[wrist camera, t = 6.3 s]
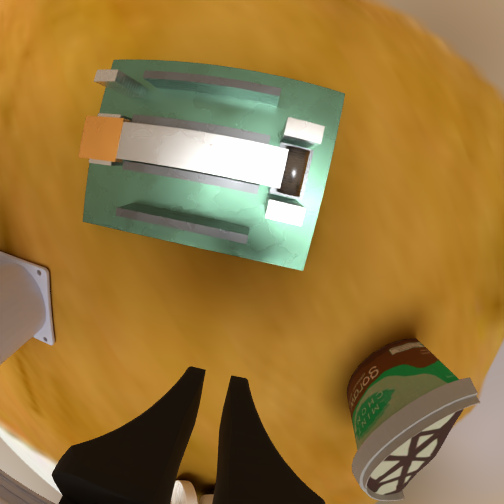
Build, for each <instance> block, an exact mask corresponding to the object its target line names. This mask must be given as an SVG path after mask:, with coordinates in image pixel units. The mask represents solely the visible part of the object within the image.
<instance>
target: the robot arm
mask: <svg viewBox="0 0 504 504" xmlns="http://www.w3.org/2000/svg"><path fill="white" fill-rule="evenodd" d="M40 272H41V273H40ZM32 337H34V338H36V339H38V340H40V341H43V342H45V343H47V344H49V345H53V344H54V343H55V339H54V331H53V322H52V312H51V299H50V281H49V271H48V270H47V268H45V267H42V266H39V265H36V264H34V263H31V262H28V261H25V260H23V259H20V258H17V257H14V256H12V255H9V254H7V253H4V252H1V251H0V365H1V364H2V363H3V362H4V361H5V360H6V359H7V358H9V357H10V356H11V355H12V354H13V353H14V352H15V351H17V350H18V349H19V348H20V347H21V346H22V345H23V344H25V343H26V342H27V341H28V340H29V339H30V338H32ZM205 371H206V370H204V369H200V368H196V367H189V368H188V369H187V370H186V372H185V373H184V374H183V376H182V377H181V378H180V379H179V381H178V382H177V383H176V384H175V385H174V386H173V387H172V388H171V389H170V390H169V391H168V392H167V393H166V394H165V395H164V396H163V397H162V398H161V399H160V400H159V401H157V402H156V403H155V404H154V405H153V406H152V407H150V408H149V409H148V410H147V411H145V412H144V413H142V414H141V415H140V416H138V417H137V418H135V419H134V420H132V421H130V422H129V423H127V424H125V425H123V426H122V427H120V428H118V429H116V430H114V431H112V432H109V433H107V434H105V435H103V436H100V437H98V438H95V439H92V440H89V441H86V442H83V443H80V444H76V445H73V446H71V447H70V448H69V449H68V450H67V451H66V453H65V454H64V455H63V456H62V457H61V459H60V460H59V462H58V464H57V465H56V467H55V469H54V471H53V473H52V477H53V479H54V482H55V483H56V485H57V487H58V488H59V490H60V492H61V493H62V495H63V496H62V498H61V500H60V502H59V504H170V502H171V498H172V493H173V489H174V485H175V481H176V477H177V472H178V469H179V466H180V463H181V460H182V457H183V455H184V452H185V449H186V447H187V444H188V441H189V438H190V436H191V433H192V430H193V427H194V425H195V421H196V417H197V413H198V409H199V404H200V399H201V393H202V387H203V382H204V376H205ZM0 504H55V503H53V502H51V501H49V500H47V499H46V498H44V497H42V496H40V495H39V494H37V493H35V492H34V491H32V490H30V489H28V488H27V487H25V486H24V485H22V484H21V483H19V482H18V481H16V480H15V479H13V478H12V477H10V476H9V475H7V474H6V473H5V472H3V471H2V470H1V469H0ZM212 504H325V502H324V500H323V499H322V498H321V497H319V496H318V495H317V494H316V493H315V492H313V491H312V490H311V489H310V488H309V487H308V486H307V485H306V484H305V483H304V482H303V481H302V480H301V479H300V478H299V477H298V476H297V475H296V474H295V473H294V472H293V470H292V469H291V468H290V467H289V466H288V465H287V463H286V462H285V461H284V460H283V458H282V457H281V455H280V454H279V453H278V451H277V450H276V448H275V446H274V445H273V443H272V442H271V440H270V438H269V436H268V434H267V433H266V431H265V429H264V427H263V425H262V422H261V420H260V418H259V415H258V413H257V410H256V408H255V405H254V402H253V399H252V396H251V392H250V388H249V383H248V380H247V379H246V378H241V377H236V376H231V379H230V383H229V387H228V391H227V395H226V399H225V403H224V407H223V412H222V418H221V423H220V429H219V445H218V464H217V477H216V484H215V490H214V496H213V502H212Z"/></svg>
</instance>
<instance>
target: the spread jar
mask: <svg viewBox="0 0 504 504" xmlns="http://www.w3.org/2000/svg"><path fill="white" fill-rule="evenodd" d="M214 490H215V489H214ZM214 490H210V491H207V492H204V493H203V494H202V495H201V497H200V500H199V504H212V502H213V496H214ZM171 500H172V501H171V502H172V504H198V502H197V496H196V492H195V489H194V486H193V485H192V483H191V482H190V481H185V480H176V481H175V485H174V489H173V493H172V498H171Z"/></svg>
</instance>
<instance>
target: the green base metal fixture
mask: <svg viewBox="0 0 504 504" xmlns="http://www.w3.org/2000/svg"><path fill="white" fill-rule="evenodd" d="M94 82H96V83H99V84H101V85H103V86H105V87H106V89H105V93H104V96H103V100H102V104H101V108H100V113H98V116H100V117H115V118H125V119H128V120H130V123H140V124H149V125H158V126H166V127H173V128H180V129H187V130H194V131H200V132H206V133H212V134H218V135H223V136H229V137H234V138H239V139H244V140H249V141H254V142H258V143H263V144H268V145H272V146H276V147H281V148H285V149H286V147H287V146H295V147H299V148H303V149H306V150H309V151H310V154H309V159H308V163H307V167H306V172H305V176H304V180H303V184H302V189H301V193H300V197H295V196H291V195H287V194H283V193H279V192H276V191H277V188H275V187H271V186H266V185H262V184H257V183H253V182H248V181H243V180H239V179H234V178H229V177H224V176H219V175H214V174H209V173H203V172H198V171H193V170H187V169H181V168H176V167H170V166H164V165H158V164H151V163H145V162H138V161H131V160H124V159H122V162H111V161H104V160H96V159H89V163H90V165H89V171H88V178H87V186H86V194H85V203H84V214H83V222H87V223H91V224H96V225H100V226H104V227H109V228H113V229H118V230H122V231H126V232H131V233H135V234H139V235H144V236H148V237H153V238H157V239H162V240H166V241H170V242H175V243H179V244H184V245H188V246H193V247H197V248H202V249H206V250H211V251H215V252H220V253H224V254H229V255H233V256H238V257H242V258H247V259H251V260H256V261H260V262H265V263H270V264H274V265H279V266H283V267H288V268H293V269H297V270H302V271H303V269H304V265H305V262H306V258H307V254H308V251H309V247H310V243H311V240H312V236H313V232H314V228H315V224H316V220H317V217H318V213H319V209H320V205H321V201H322V197H323V192H324V188H325V184H326V180H327V176H328V171H329V167H330V163H331V158H332V154H333V149H334V145H335V140H336V136H337V131H338V126H339V121H340V117H341V112H342V107H343V102H344V96H345V94H344V93H341V92H338V91H335V90H331V89H328V88H324V87H321V86H317V85H314V84H310V83H306V82H302V81H298V80H294V79H290V78H285V77H281V76H276V75H271V74H266V73H261V72H256V71H250V70H244V69H238V68H232V67H225V66H217V65H209V64H200V63H190V62H178V61H161V60H114V61H113V65H112V68H111V70H97V73H96V76H95V80H94Z"/></svg>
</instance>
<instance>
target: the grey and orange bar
mask: <svg viewBox="0 0 504 504" xmlns="http://www.w3.org/2000/svg"><path fill="white" fill-rule="evenodd" d="M309 154H310V151H309V150H306V149H303V148H299V147H295V146H287V147H286V149H285V148H281V147H276V146H272V145H268V144H263V143H258V142H254V141H249V140H244V139H239V138H234V137H229V136H223V135H218V134H212V133H206V132H200V131H194V130H187V129H180V128H173V127H166V126H158V125H149V124H140V123H130V120H128V119H125V118H115V117H100V116H86V120H85V125H84V130H83V135H82V140H81V146H80V151H79V157H80V158H88V159H96V160H104V161H111V162H122V159H124V160H131V161H138V162H145V163H151V164H158V165H164V166H170V167H176V168H181V169H187V170H193V171H198V172H203V173H209V174H214V175H219V176H224V177H229V178H234V179H239V180H243V181H248V182H253V183H257V184H262V185H266V186H271V187H275V188H277V191H276V192H279V193H283V194H287V195H291V196H295V197H300V193H301V189H302V184H303V180H304V176H305V172H306V167H307V163H308V159H309Z"/></svg>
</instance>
